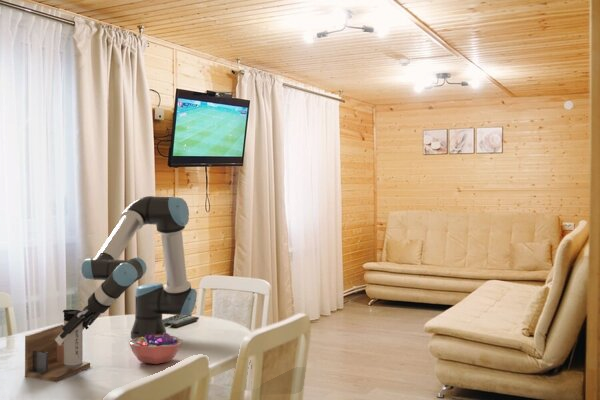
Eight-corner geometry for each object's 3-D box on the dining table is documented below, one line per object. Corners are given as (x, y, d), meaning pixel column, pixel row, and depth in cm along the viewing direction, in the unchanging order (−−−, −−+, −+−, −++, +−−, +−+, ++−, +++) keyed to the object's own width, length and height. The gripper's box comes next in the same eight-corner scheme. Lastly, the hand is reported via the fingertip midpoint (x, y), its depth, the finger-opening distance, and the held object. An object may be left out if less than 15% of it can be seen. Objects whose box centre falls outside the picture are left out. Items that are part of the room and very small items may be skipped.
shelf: (90, 366, 229) (90, 327, 228) (56, 381, 212) (56, 340, 211) (60, 361, 233) (60, 324, 233) (24, 376, 216) (25, 335, 216)
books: (75, 360, 231) (76, 341, 231) (69, 363, 228) (69, 344, 227) (63, 358, 233) (63, 340, 233) (56, 361, 230) (56, 342, 229)
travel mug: (65, 362, 222) (65, 308, 221) (84, 362, 223) (84, 307, 222) (60, 368, 216) (60, 312, 215) (80, 368, 217) (79, 311, 216)
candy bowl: (136, 354, 245) (136, 326, 244) (186, 356, 244) (186, 328, 244) (122, 368, 228) (123, 338, 228) (176, 370, 228) (177, 339, 227)
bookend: (48, 371, 217) (48, 352, 217) (41, 374, 214) (41, 354, 214) (35, 369, 219) (35, 350, 219) (27, 372, 216) (28, 352, 216)
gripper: (91, 312, 205) (51, 355, 211) (125, 301, 223) (87, 341, 229) (78, 295, 206) (39, 338, 212) (113, 285, 224) (76, 325, 230)
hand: (64, 339), depth 220 cm, fingers closed on travel mug, 6 cm apart
